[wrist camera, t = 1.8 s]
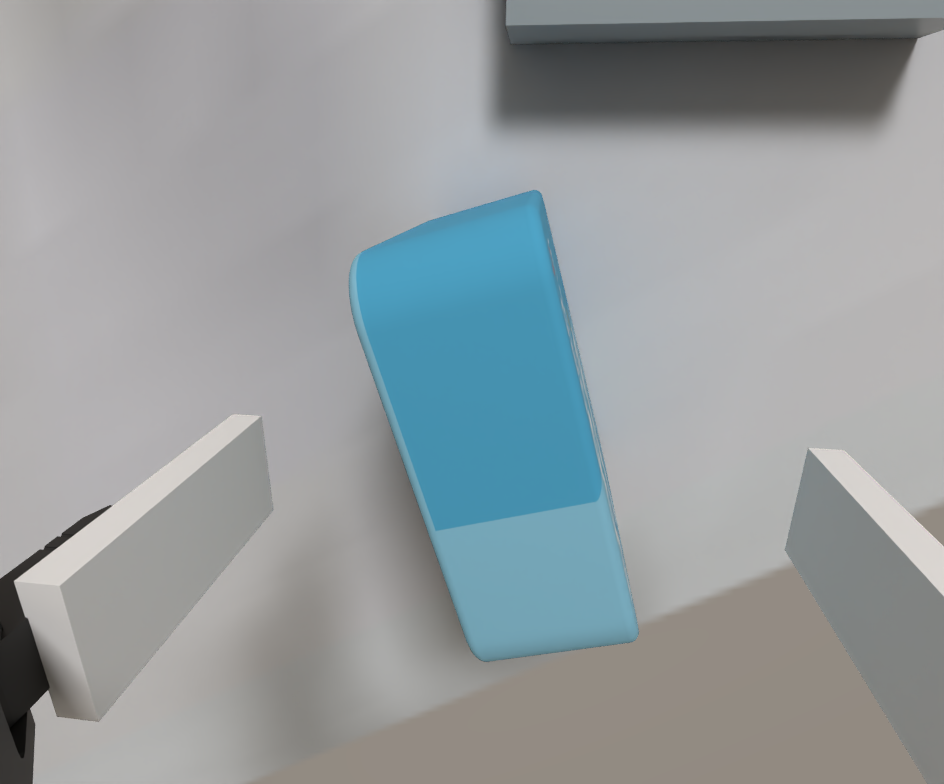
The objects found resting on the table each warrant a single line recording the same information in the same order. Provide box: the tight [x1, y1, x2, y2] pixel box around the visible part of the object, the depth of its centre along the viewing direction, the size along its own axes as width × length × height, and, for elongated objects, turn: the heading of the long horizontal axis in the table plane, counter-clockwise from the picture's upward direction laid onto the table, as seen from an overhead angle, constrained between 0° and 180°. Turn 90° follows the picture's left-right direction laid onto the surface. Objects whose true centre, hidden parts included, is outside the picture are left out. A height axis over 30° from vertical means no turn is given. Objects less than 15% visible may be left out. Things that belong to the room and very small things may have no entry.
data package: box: [349, 190, 639, 662], centre depth 20 cm, size 12×4×12 cm, turn 16°
